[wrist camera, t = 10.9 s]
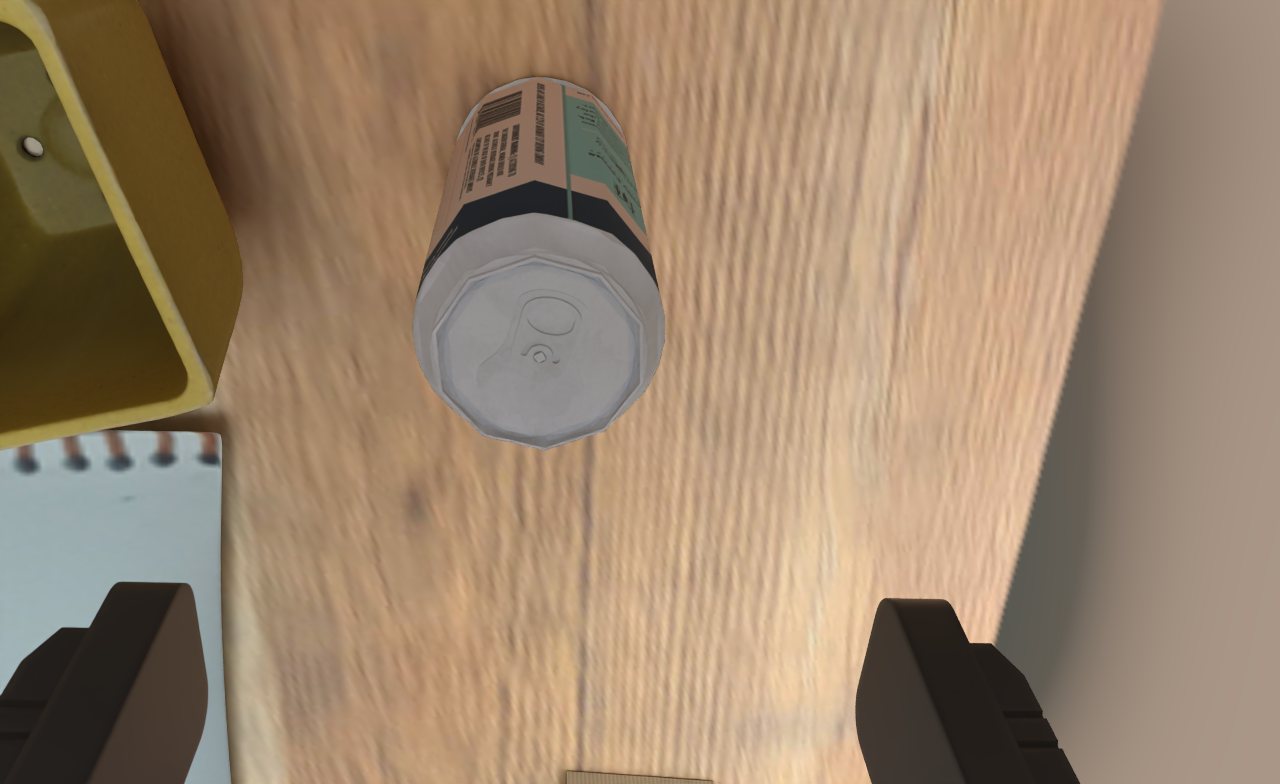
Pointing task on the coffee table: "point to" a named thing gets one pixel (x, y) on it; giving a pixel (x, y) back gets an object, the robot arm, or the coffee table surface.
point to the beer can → (539, 271)
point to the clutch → (113, 545)
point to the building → (623, 779)
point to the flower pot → (103, 229)
